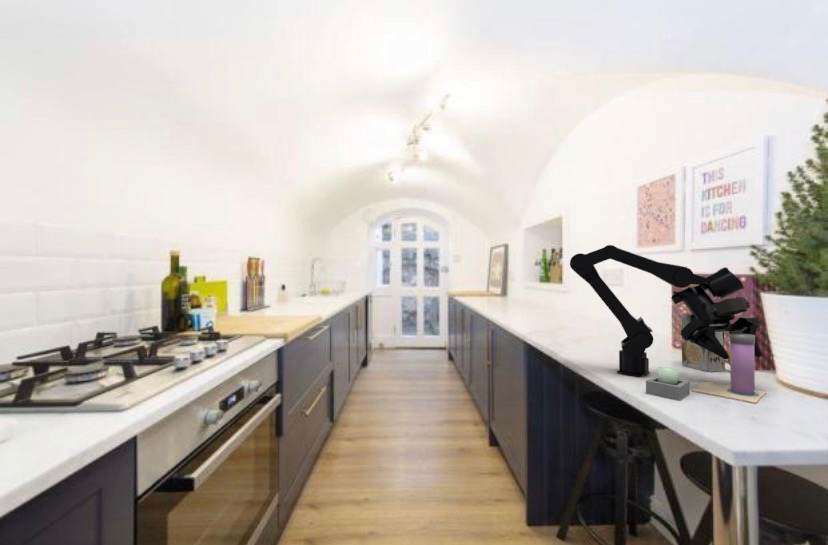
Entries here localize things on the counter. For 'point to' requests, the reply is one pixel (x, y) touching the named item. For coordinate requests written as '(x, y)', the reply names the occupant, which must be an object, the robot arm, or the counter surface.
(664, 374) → the button
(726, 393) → the beige coaster
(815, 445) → the counter surface
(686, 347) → the coffee box
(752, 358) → the purple canister
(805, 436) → the counter surface
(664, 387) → the button housing
